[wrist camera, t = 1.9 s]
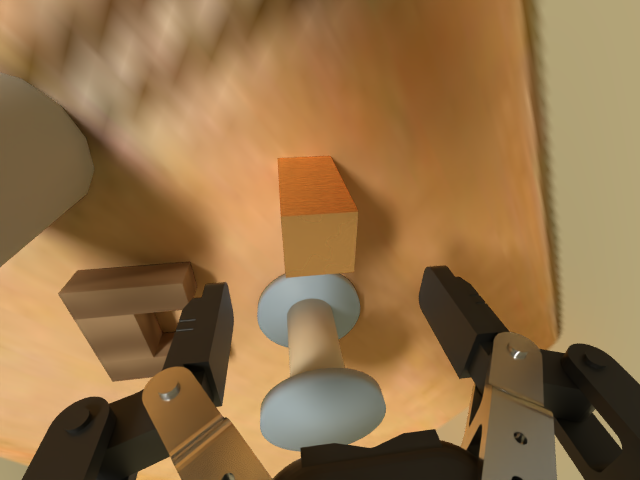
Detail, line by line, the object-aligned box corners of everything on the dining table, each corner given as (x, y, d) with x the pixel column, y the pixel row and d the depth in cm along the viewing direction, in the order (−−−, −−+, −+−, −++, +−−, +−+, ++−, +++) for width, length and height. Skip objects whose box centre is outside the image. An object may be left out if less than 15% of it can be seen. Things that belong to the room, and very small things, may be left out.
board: (77, 270, 23) (58, 293, 21) (189, 261, 24) (182, 283, 22) (124, 356, 28) (112, 381, 26) (214, 346, 29) (210, 370, 27)
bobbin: (252, 272, 25) (242, 388, 17) (361, 263, 26) (403, 369, 18) (263, 345, 30) (260, 463, 22) (354, 335, 31) (385, 444, 23)
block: (277, 158, 20) (280, 216, 14) (330, 156, 21) (358, 211, 14) (281, 206, 22) (285, 278, 16) (329, 203, 23) (354, 272, 16)
